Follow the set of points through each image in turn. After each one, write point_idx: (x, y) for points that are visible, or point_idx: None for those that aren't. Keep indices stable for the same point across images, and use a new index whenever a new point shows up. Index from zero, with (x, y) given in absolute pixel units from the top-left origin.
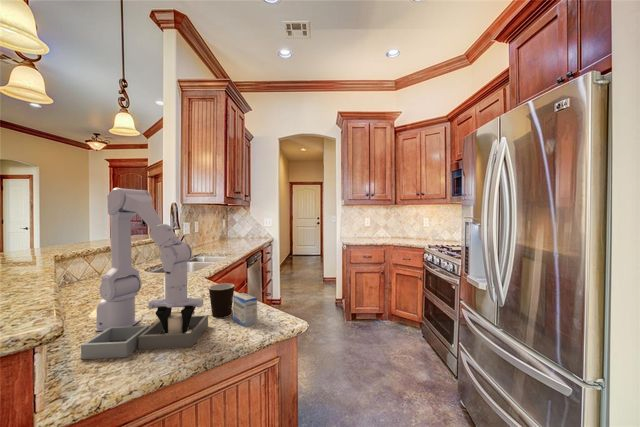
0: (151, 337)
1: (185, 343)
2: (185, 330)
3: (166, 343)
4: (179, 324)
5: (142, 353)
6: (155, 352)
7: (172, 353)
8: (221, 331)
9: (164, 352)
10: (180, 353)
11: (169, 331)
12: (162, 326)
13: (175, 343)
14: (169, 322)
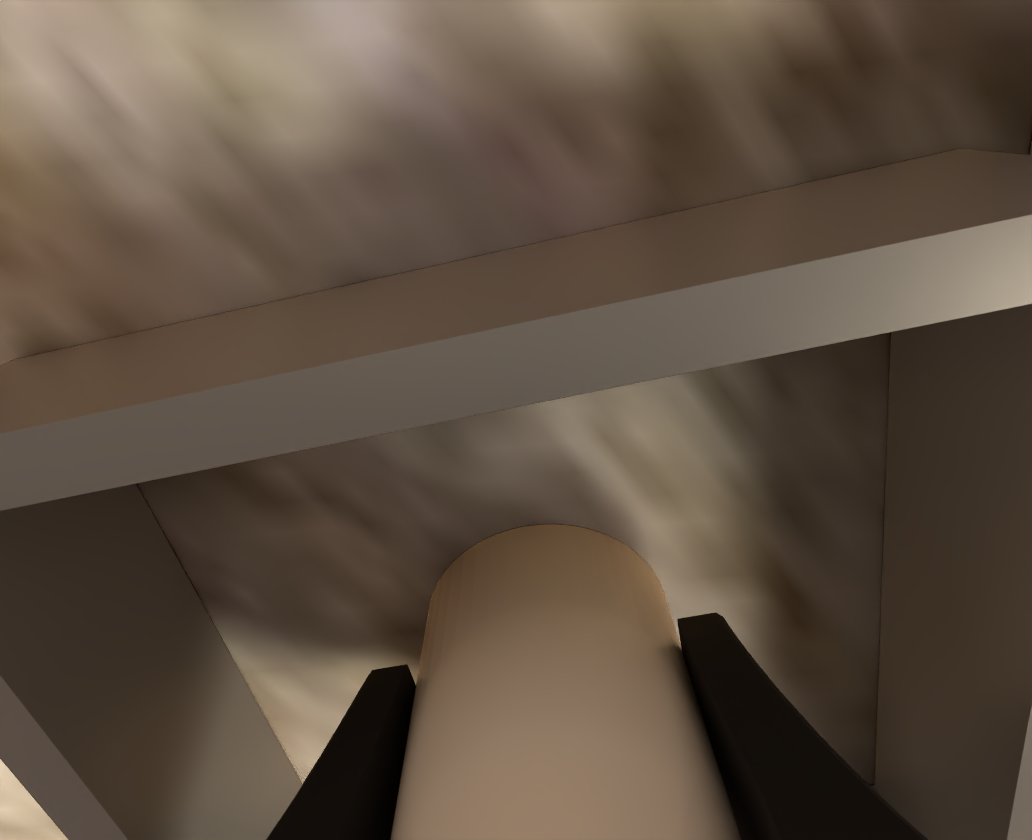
0: (799, 250)
1: (66, 361)
2: (354, 710)
3: (426, 291)
4: (410, 801)
5: (790, 10)
6: (543, 89)
7: (168, 93)
8: (26, 801)
9: (360, 113)
10: (11, 114)
11: (609, 636)
12: (912, 806)
13: (250, 326)
14: (643, 823)
